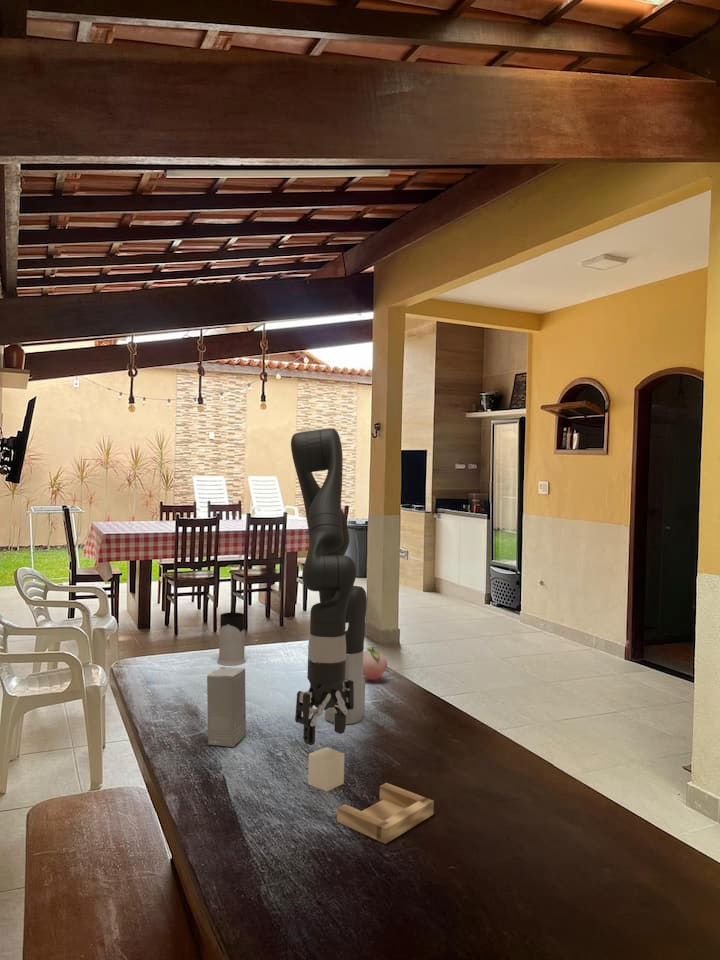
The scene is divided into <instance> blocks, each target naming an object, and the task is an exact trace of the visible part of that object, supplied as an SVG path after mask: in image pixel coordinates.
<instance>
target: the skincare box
mask: <svg viewBox="0 0 720 960" xmlns="http://www.w3.org/2000/svg"><path fill="white" fill-rule="evenodd" d="M206 681H207V682H206V683H207V684H206V688H207V693H206V695H207V696H206V698H207V700H206V701H207V745H209V746H220V747H221V746H222V747H229V748H235V746H237V744H238V743H239V742H241V740H242V739H243V738H245V736H246V735H247V725H246V723H247V718H246V717H247V715H246V714H247V713H246V710H247V709H246V706H247V705H246V704H247V703H246V668H244V667H223V666H222V667H220V668H218V669H215V670H213V671H212V672H211V673H209V674H208V675H206Z"/></svg>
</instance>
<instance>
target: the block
mask: <svg viewBox="0 0 720 960" xmlns="http://www.w3.org/2000/svg"><path fill="white" fill-rule="evenodd" d="M307 771H308V773H307V775H308V776H307V778H308V779H307V785H310V786H312V787H315V788H317V789H319V790H322V791H324V792H329V791H330V790H334V789H335V788H338V787H339V786H342V785H344V783H345V753H344V752H340V751H338V750H335V749H333V748H330V747H327V746H326V747H325V746H324V747H322V748H320V749H317V750H315V751H313V752H310V753H309V754H308V769H307Z"/></svg>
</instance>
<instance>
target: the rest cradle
mask: <svg viewBox="0 0 720 960" xmlns="http://www.w3.org/2000/svg"><path fill="white" fill-rule="evenodd" d="M378 798H379V799H378V800H379V801H377V802H375V803H374V804H372V805H370V806H369V807H367V808H364V809H363V810H360V809H357V808H355V807H352V806H350V805H348V804H345V803H344V804H342V805H340V806H339V807H337V808H336V810H337V811H336V822H337V823H338V824H340V825H343V826H346V827H347V828H350V829H352V830H353V831H356V832H358V833H361V834H363V835H365V836H367V837H369V838H371V839H373V840H376V841H378V842H380V843H382V844H385V845H386V844H388V843H389V842H391V841H393V840H394V839H396V838H398V837H400V836H401V835H403V834H405V833H406V832H408V831H409V830H411V829H413V828H414V827H415V826H417V825H418V824H421V823H422V822H423V821H425V820H426V819H428V818H430V817H431V816H433V815H434V812H435V811H434V806H435V804H434V803H435V800H433V799H430V798H427V797H425V796H423V795H419V794H417V793H414V792H412V791H410V790H409V791H408V790H407V789H403V788H401V787H398V786H396V785H393V784H391V783H388V782H384V783H383V784H381V785H379V797H378Z"/></svg>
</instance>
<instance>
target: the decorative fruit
mask: <svg viewBox="0 0 720 960" xmlns="http://www.w3.org/2000/svg"><path fill="white" fill-rule="evenodd" d="M387 668H388V661H387V659H386V657H385V655H384V654H383V653H381V652H379V651H377V650H376V649H375V648H374V646H372V647H371V648H366V650H365V651H363V677H365V678H367V679H368V680H370V681H371V682H374V681H376V680H378V679H379V678H381V677H382V676H383V675H384V673H386V670H387Z"/></svg>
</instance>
